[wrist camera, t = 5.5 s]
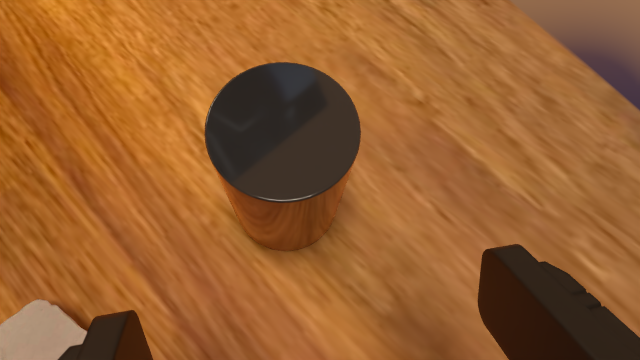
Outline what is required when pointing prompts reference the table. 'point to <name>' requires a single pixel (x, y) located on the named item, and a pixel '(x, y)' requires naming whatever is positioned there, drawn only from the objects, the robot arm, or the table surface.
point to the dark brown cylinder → (283, 151)
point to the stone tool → (38, 333)
